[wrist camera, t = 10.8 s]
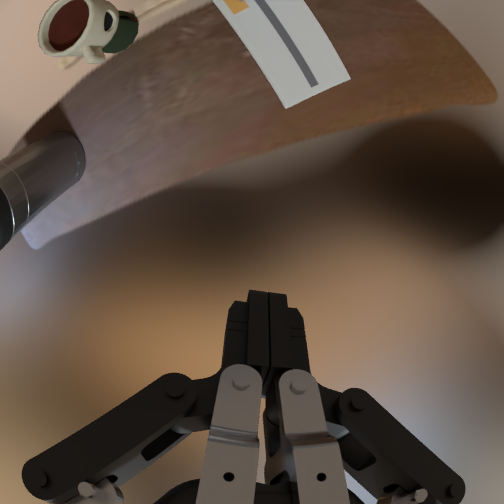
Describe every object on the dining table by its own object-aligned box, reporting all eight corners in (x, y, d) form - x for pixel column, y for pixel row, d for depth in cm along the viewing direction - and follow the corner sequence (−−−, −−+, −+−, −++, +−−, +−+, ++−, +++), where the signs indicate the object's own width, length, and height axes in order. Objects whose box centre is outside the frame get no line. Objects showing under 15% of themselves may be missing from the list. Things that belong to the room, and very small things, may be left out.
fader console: (346, 78, 30) (351, 78, 29) (284, 107, 33) (285, 109, 31) (256, -52, 20) (256, -58, 18) (193, -23, 23) (190, -27, 21)
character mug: (156, 49, 28) (110, 41, 18) (112, 76, 30) (55, 85, 19) (127, -9, 23) (76, -32, 12) (85, 20, 25) (26, 13, 14)
